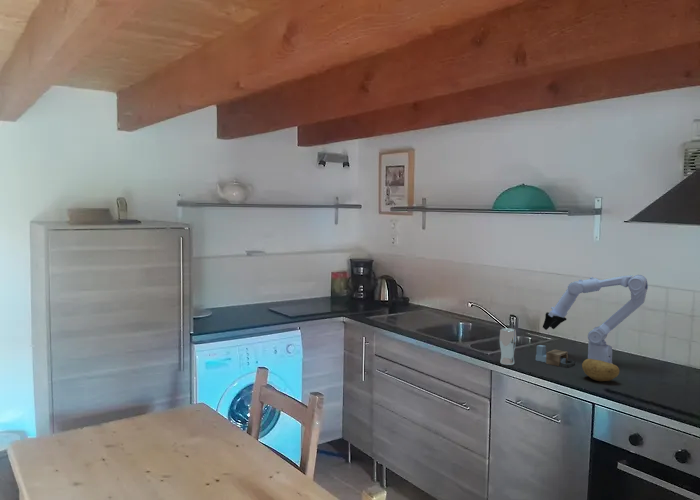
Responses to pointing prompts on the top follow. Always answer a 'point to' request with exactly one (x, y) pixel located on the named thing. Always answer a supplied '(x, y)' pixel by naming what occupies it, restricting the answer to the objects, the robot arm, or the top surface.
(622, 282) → the robot arm
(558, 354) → the tunnel
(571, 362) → the pit
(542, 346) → the blue l-shaped block
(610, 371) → the potato
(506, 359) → the beer glass
